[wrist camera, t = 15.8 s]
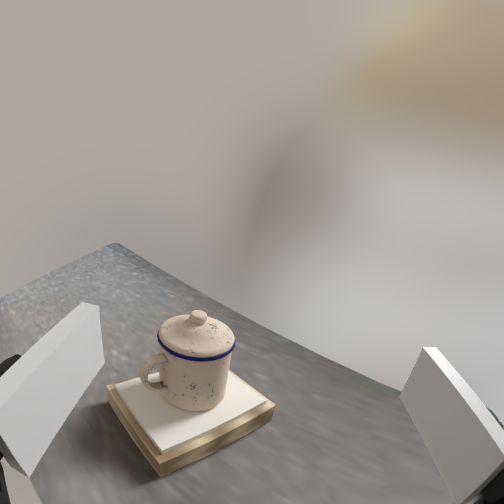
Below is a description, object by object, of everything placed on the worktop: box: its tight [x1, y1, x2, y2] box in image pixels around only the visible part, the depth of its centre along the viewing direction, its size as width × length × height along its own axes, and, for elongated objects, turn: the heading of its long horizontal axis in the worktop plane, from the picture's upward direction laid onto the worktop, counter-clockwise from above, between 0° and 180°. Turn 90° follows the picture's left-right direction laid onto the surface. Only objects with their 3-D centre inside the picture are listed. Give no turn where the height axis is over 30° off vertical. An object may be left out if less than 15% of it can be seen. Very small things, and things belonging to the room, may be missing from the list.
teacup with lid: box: [139, 310, 235, 411], centre depth 33 cm, size 12×9×12 cm
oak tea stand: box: [106, 370, 276, 477], centre depth 35 cm, size 18×14×4 cm
